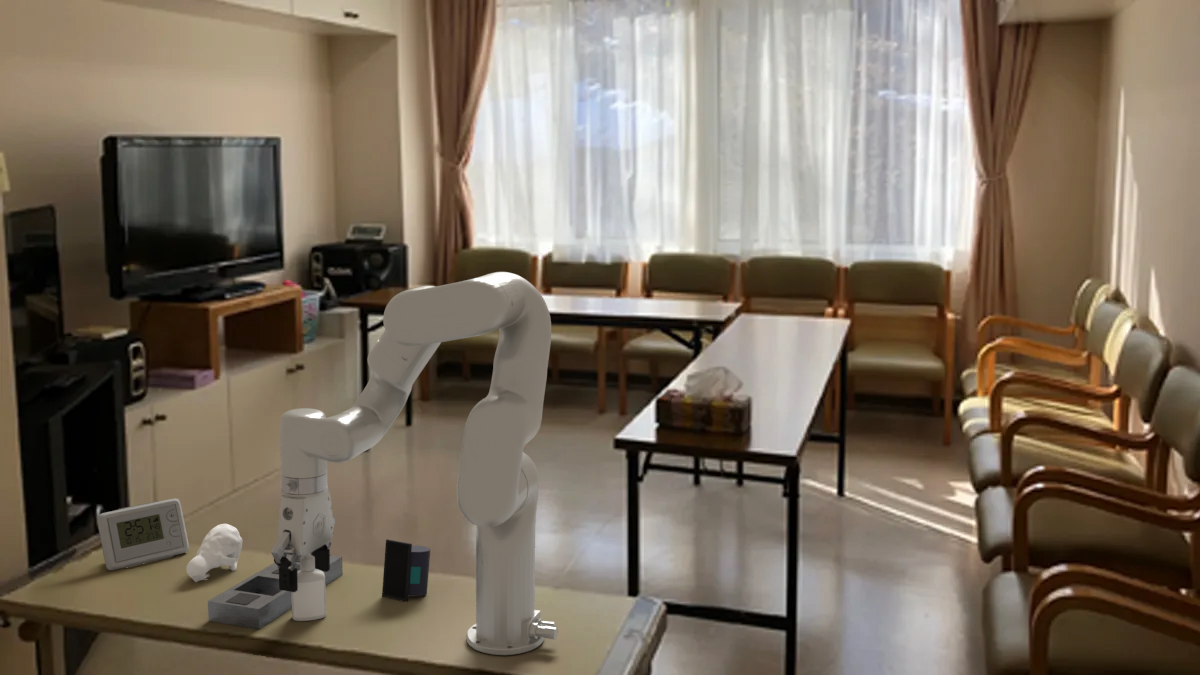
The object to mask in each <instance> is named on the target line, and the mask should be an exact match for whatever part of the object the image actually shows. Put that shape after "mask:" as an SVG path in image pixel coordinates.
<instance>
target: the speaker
mask: <svg viewBox="0 0 1200 675" xmlns="http://www.w3.org/2000/svg"><path fill="white" fill-rule="evenodd" d="M384 550H385V551H384V563H383V578H382V592H381V597H382V598H385V599H387V598H388V599H391V600H396V601H400V600H402V601H401V602H405V601H409V597H418V596H425V595H427V594H428V585H429V571H430V560H431V559H430V558H431V548H430V547H427V546H424V545H414V544H413V543H410V542H409V543H408V542H404V541H398V540H393V539H385V548H384Z"/></svg>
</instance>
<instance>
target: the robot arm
mask: <svg viewBox="0 0 1200 675" xmlns="http://www.w3.org/2000/svg"><path fill="white" fill-rule="evenodd" d="M550 314H551V313H550V311H549V307H548V304H547V303H546V301H545V299H544V297H543V295H542V294H541V292H539V290H538V289H537V288H536V286H534V285H533V283H531V282H530V281H528V280H527V279H526V278H524V277H522V276H520V275H519V274H516V273H512V272H507V271H496V272H491V273H487V274H485V275H482V276H478V277H474V278H469V279H467V280H462V281H457V282H451V283H448V284H442V285H437V286H435V285H423V286H422V285H421V286H418V287H414V288H411V289H406V290H402V291H401V292H399V293H397V294H395V295H394V296H393V297H392V298H391V299H390V300H389V302H387V304H386V306H385V309H384V312H383V317H382V319H383V320H382V321H383V322H382V323H383V327H384V331H383V332H382V334H381V336H380V337H379V339H378V340H377V341H376V343H375V344H374V346H373V347H372V348H371V350H370V352H369V353H368V354H367V355H368V356H367V365H368V366H369V368H370V370H371V376H370V378H369V380H368V382H367V384H366V386H365V387H364V389H362V392H360V393H361V394H360V395H359V396H358V398H357V399H356V400H355V402H354V403H353V405H352V406H351V407H350V408H349V409H347V410H344V411H342V412H340V413H337V414H336V415H331V416H329V417H327V416H326V414H325V412H323V411H322V410H320V409H316V408H308V407H306V408H305V407H304V408H294V409H290V410H287V411H285V412H284V413H282V415H281V417H280V420H279V424H280V425H279V435H280V436H279V437H280V441H279V443H280V445H279V446H280V447H279V448H280V449H279V450H280V451H279V452H280V494H281V496H280V503H279V509H278V510H279V511H278V512H279V513H278V522H277V523H278V524H277V526H278V530H277V541H276V542H275V543H274V545H273V546H272V548H271V555H272V557H273V563H276V564H277V568H279V589H280V590H284V591H289V592H296V591H297V590H298V576H297V568H295V565H296V563H297V560H298V558H299V555H301V556H306V555H308V554H310V553H311V552H312V556H314V557H315V569H318V570H321V571H325V572H327V571H329V570H330V555H331V552H330V549H331V547H332V539H333V537H334V528H335V527H334V526H335V524H336V518H334V517H333V507H332V506H333V505H332V497H331V493H330V489H329V486H328V462H330V463H336V464H341V463H346V462H349V461H350V460H353V459H354V458H357V457H358V456H359V455H361V454H363V453H364V452H366V451H368V450H369V449H371V448H374V446H375V445H377V444H378V443H379V442H380V441H381V440H382V438H383V437H384V436H385V435H386V434H387V432H388V431H389V429H390V428H391V427H392V425H393V424H394V422H395V421H396V419H397V417H398V416H399V415H400V413H401V412H402V411H403V408H404V407H405V406H406V403H407V401H408V398H409V396H410V395H411V392H412V388H413V385H414V383H415V382H416V380H417V378H418V377H419V376H420V374H421V373H422V371H423V370H424V369H425V367H426V365H427V364H428V362H429V361H430V360H431V359H432V357H433V355H434V354H435V352H436V351H437V350H438V348H439V347H440V345H441V343H445V342H450V341H455V340H461V339H467V338H472V337H473V338H474V337H477V336H479V337H480V336H484V335H486V334H490V333H493V332H495V331H497V330H498V332H499V338H498V342H497V345H496V349H495V353H494V357H493V369H492V375H491V382H490V387H489V392H488V394H487V395H486V397H485V398H484V397H483V398H482V399H481V400H480V401H478V402H477V403H476V404H475V405H474V406H473V408H472V409H471V410H470V412H469V413H468V414H469V415H468V417H467V419H466V420H465V424H464V430H463V435H462V442H461V450H460V460H459V466H458V474H457V481H456V500H457V504H458V507H459V510H460V511H461V514H462V515H463V517H464V518H465V519H466V520H467V521H468V522H469V523H471V524H473V525H475V526H476V530H475V531H476V533H475V609H476V610H475V611H476V612H475V613H476V614H475V616H476V617H475V618H476V619H475V623H474V624H473V625H472V626H470V628H468V630H467V632H466V641H467V642H466V643H468V645H469V646H470V648H472V649H474V650H476V651H477V652H481V653H483V654H488V655H495V656H512V655H520V654H525V653H528V652H530V651H533V650H534V649H536V648H538V647H539V646H541V645H542V643H543V642H544V640H545V639H547V640H554V641H556V640H557V639H558V635H559V634H558V633H559V629H558V627H557V623H556V622H555V621H550V620H548V621H546V620H543V619H542V618H541V610H538V609H536V607H535V606H536V605H535V602H536V596H535V595H536V591H535V590H536V588H535V586H536V579H535V578H536V576H535V575H536V565H535V564H536V523H537V521H536V520H537V510H538V503H539V502H538V500H539V493H540V492H539V490H540V480H539V479H540V477H539V472H538V469H537V466H536V464H535V463H534V461H533V459H531V457H530V456H529V454H527V453H525V452H524V448H525V446H526V445H527V444H528V443H529V442H530V441H532V440H533V439H534V438H535V436H536V435H537V434H538V432H539V431H540V429H541V425H542V420H543V409H544V402H545V401H544V400H545V392H546V385H547V379H548V378H547V377H548V367H549V358H550V350H551V343H552V321H551V320H552V319H551V315H550ZM287 555H292V557H291V560H290V561H289V560H288V559H287V558H286V557H287Z"/></svg>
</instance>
